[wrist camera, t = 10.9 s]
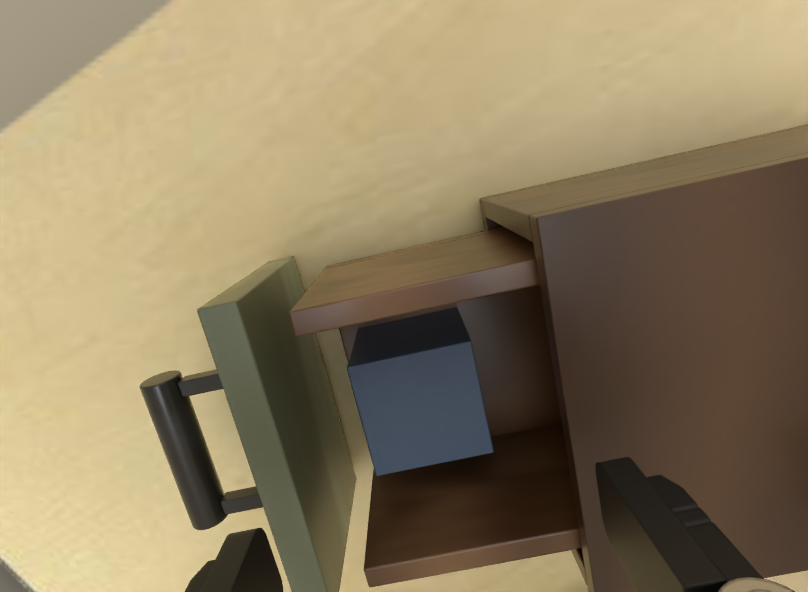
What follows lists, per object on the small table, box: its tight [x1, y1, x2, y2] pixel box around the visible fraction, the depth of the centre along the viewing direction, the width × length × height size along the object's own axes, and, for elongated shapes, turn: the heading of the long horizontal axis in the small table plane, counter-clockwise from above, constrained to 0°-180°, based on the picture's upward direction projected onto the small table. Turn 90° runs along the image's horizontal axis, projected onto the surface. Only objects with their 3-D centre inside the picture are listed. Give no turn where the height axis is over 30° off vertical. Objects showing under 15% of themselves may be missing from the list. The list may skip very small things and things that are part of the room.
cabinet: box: [480, 125, 808, 592], centre depth 18 cm, size 15×13×10 cm
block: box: [347, 307, 494, 476], centre depth 20 cm, size 4×4×4 cm
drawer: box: [140, 227, 582, 592], centre depth 19 cm, size 18×11×8 cm, turn 103°
